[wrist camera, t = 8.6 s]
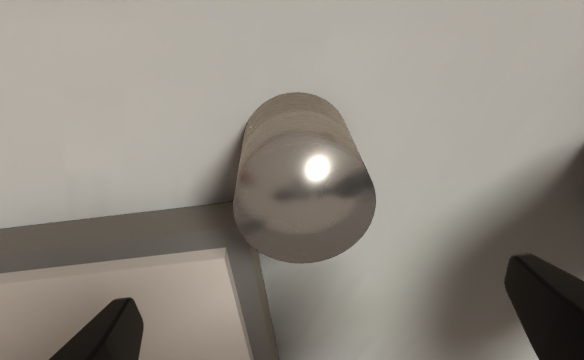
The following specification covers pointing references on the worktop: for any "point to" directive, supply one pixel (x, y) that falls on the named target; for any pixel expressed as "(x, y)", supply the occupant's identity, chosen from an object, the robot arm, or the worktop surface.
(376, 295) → the worktop surface
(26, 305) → the kitchen scale
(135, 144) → the worktop surface
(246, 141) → the cylinder
